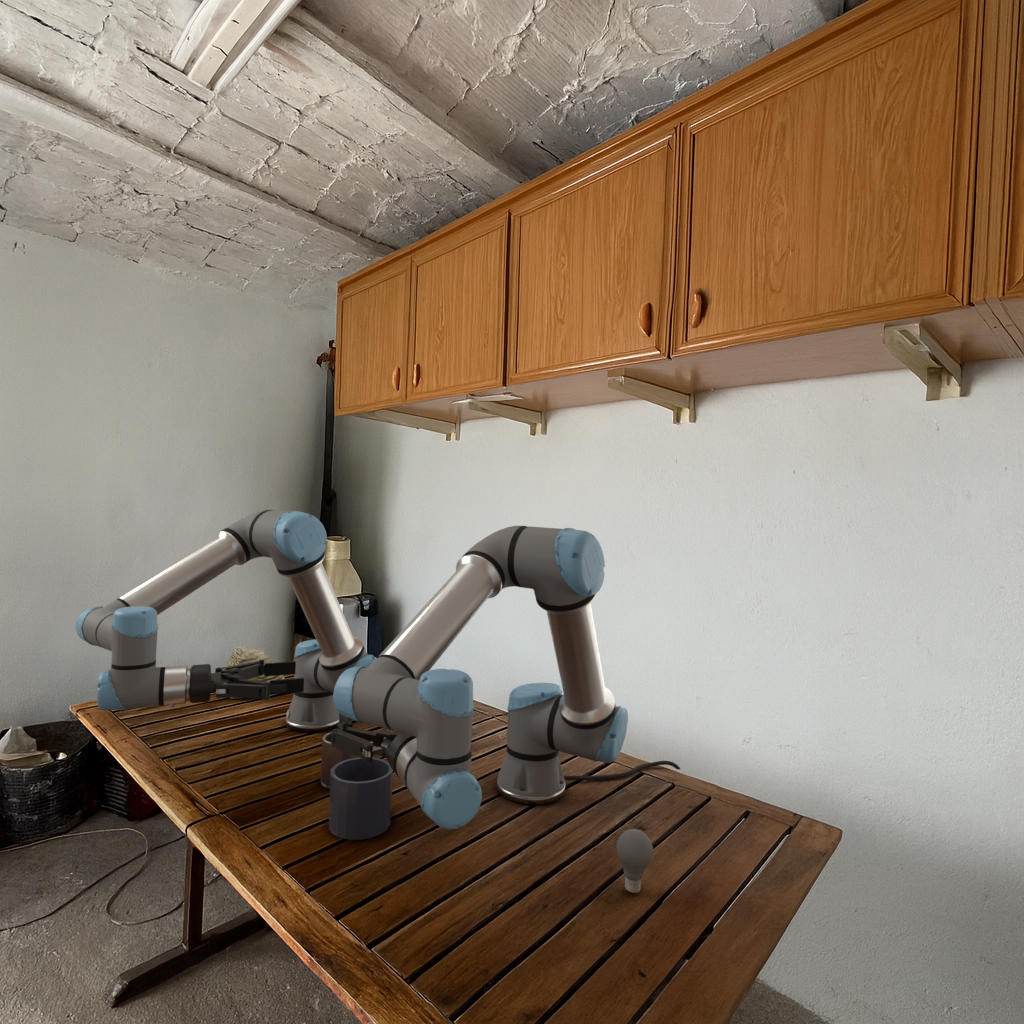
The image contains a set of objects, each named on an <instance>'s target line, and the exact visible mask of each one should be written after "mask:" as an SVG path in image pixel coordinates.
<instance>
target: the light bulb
mask: <svg viewBox="0 0 1024 1024" xmlns="http://www.w3.org/2000/svg"><path fill="white" fill-rule="evenodd" d="M615 849H616V854H617V857H618V859H619V861H620V863H621V865H622V867H623V873H624V874H623V875H624V876H625V878H624V888H625V890H627V891H628V892H630V893H634V894H635V893H639V892H640V891H641V889H642V887H641V886H642V879H643V877H644V875H645V871H646V868H647V867H648V866H649V864H650V863H651V861H652V859H653V855H654V847H653V843H652V841H651V838H649V836H648V835H647V834H646V833H645V832H643V831H642V830H641V829H636V828H629V829H627V830H625V831H623V832H622V833H621V834H620V835H619V837H618V839H617V841H616V847H615Z"/></svg>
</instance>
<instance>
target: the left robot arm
mask: <svg viewBox="0 0 1024 1024" xmlns="http://www.w3.org/2000/svg"><path fill="white" fill-rule="evenodd" d="M327 536H328V535H327V531H326V529H325V527H324V524H323V523H322V522H321V521H320V520H319V518H317V517H316V516H315V515H313V514H311V513H307V512H303V511H300V510H290V511H288V510H276V509H263V510H258V511H255V512H253V513H250V514H248V515H246V516H244V517H242V518H240V519H238V520H237V521H235V522H233V523H231V524H229V525H228V526H227V527H225V528H223V529H221V530H220V531H218V532H217V534H216V537H215V539H213V540H212V541H210V542H208V543H207V544H205V545H204V546H202V547H200V548H199V549H197V550H195V551H194V552H192V553H190V554H189V555H187V556H186V557H183V558H182V559H180V560H179V561H177V562H176V563H174V564H172V565H170V566H169V567H167V568H166V569H164V570H163V571H161V572H159V573H158V574H156V575H154V576H152V577H150V578H149V579H148V580H146V581H145V582H142V583H141V584H139V585H138V586H136V587H134V588H132V589H131V590H129V591H128V592H127V593H125V594H123V595H122V596H120V597H118V598H116V599H115V600H113V601H111V602H109V603H107V604H106V605H104V606H102V605H101V606H94V607H90V608H87V609H85V610H84V611H83V612H81V614H80V615H79V616H78V618H77V619H76V621H75V631H76V634H77V636H78V637H79V638H80V639H81V640H83V641H84V642H86V643H88V644H89V645H91V646H94V647H99V648H102V649H104V650H107V651H109V652H111V664H110V665H111V666H110V669H108V670H103V671H101V672H100V673H99V675H98V678H97V689H96V704H97V707H98V708H99V709H100V710H102V711H119V710H123V711H128V710H133V709H134V710H135V709H141V708H142V709H143V708H152V707H153V708H154V707H163V706H169V707H170V708H175V707H176V705H185V704H187V701H189V703H191V704H199V703H208V702H210V700H211V693H215V698H216V699H220V698H222V699H223V698H230V697H233V698H232V699H253V700H254V699H256V700H265V701H266V700H270V698H271V696H270V695H272V694H276V695H282V694H293V695H292V696H293V697H292V699H291V702H290V704H289V708H288V709H287V711H286V714H285V726H286V728H287V729H289V730H291V731H294V732H295V731H296V732H301V733H316V732H325V731H329V730H333V729H336V728H337V724H338V723H339V712H338V711H337V709H336V707H335V704H334V699H333V694H334V688H335V685H336V682H337V680H338V678H339V677H340V675H341V674H342V673H343V672H344V671H345V670H347V669H349V668H352V667H361V666H362V667H366V668H368V667H369V666H370V665H371V664H372V663H373V662H374V661H375V660H376V659H377V658H378V657H376V656H374V655H373V654H371V653H369V654H368V652H367V650H366V648H365V646H364V644H363V641H362V640H361V639H360V638H358V637H356V636H354V635H353V633H352V630H351V629H350V626H349V623H348V621H347V619H346V616H345V614H344V612H343V610H342V609H343V608H342V607H341V605H340V603H339V599H338V598H337V594H336V593H335V590H334V588H333V586H332V584H331V581H330V579H329V576H328V574H327V572H326V569H325V566H324V564H323V562H324V560H325V558H326V552H325V550H326V547H327V545H326V543H327V542H328V538H327ZM258 558H268V559H269V558H271V560H272V562H273V564H274V566H275V568H276V570H277V572H278V574H279V575H280V576H282V577H285V578H286V577H287V578H288V580H289V583H290V585H291V587H292V589H293V592H294V593H295V596H296V598H297V601H298V603H299V604H300V607H301V609H302V611H303V613H304V616H305V618H306V620H307V622H308V625H309V626H310V629H311V632H312V633H313V635H314V637H315V639H308V640H304V641H301V642H299V643H298V644H297V645H296V646H295V650H294V651H295V652H294V655H293V658H294V660H293V661H281V662H274V663H265V665H264V660H259V661H256V662H251V663H245V664H240V665H234V666H229V667H227V666H223V667H216V668H215V669H214V672H213V673H212V665H211V664H209V663H205V664H204V663H201V664H193V665H191V666H190V667H189V666H188V665H186V664H185V665H171V666H157V645H158V630H159V623H158V616H159V615H160V614H161V613H163V612H165V611H166V610H169V608H171V607H172V606H175V604H177V603H178V602H180V601H181V600H183V599H184V598H186V597H188V596H190V595H192V593H194V592H195V591H197V590H199V589H200V588H202V587H203V586H205V585H207V584H208V583H209V582H211V581H212V580H214V579H216V578H217V577H218V576H220V575H222V574H223V573H225V572H227V570H229V569H231V568H233V567H234V566H243V565H244V564H246V563H248V562H249V561H252V560H254V559H258ZM261 675H264V676H277V675H283V676H288V675H293V678H285V679H281V680H270V682H263V681H255V680H248V679H251V678H254V677H257V676H261ZM272 696H273V695H272Z"/></svg>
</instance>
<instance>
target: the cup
mask: <svg viewBox="0 0 1024 1024" xmlns="http://www.w3.org/2000/svg"><path fill="white" fill-rule="evenodd" d="M331 741H332V731H330V732H327V733H325V734H324V735H323V736H322V738H321V754H320V755H321V756H320V757H321V759H320V786H322V787H323V788H324V789H326V790H327V789H328V790H330V777H331V769H332V768H333V766H334V765H336V764H338V763H339V762H342V761H345V760H348V759H353V758H360V757H358V756H355V755H353V754H350V753H348V752H345V751H343V750H340V749H338V748H335V747H333V746H331Z"/></svg>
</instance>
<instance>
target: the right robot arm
mask: <svg viewBox="0 0 1024 1024" xmlns="http://www.w3.org/2000/svg"><path fill="white" fill-rule="evenodd" d="M605 564H606V563H605V556H604V551H603V548H602V546H601V543H600V542H599V540H598V539H597V537H596V536H595V535H594V534H592V533H591V532H589V531H586V530H583V529H581V530H580V529H576V528H572V527H564V528H555V527H543V526H527V525H512V526H507V527H504V528H501V529H499V530H497V531H494V532H492V533H491V534H489V535H487V536H486V537H484V538H482V539H481V540H479V541H478V542H477V543H475V544H474V545H473V546H471V547H470V548H469V549H468V550H467V551H466V552H465V553H464V554H463V555H462V556H461V557H460V558H459V559H458V561H457V562H456V565H455V572H454V573H453V574H452V575H451V576H450V578H448V579H447V581H446V582H445V583H444V584H443V585H442V586H441V587H440V588H439V589H438V590H437V591H436V593H435V594H434V595H433V596H432V597H431V598H430V599H429V600H428V602H427V603H426V604H424V606H423V607H422V608H421V609H420V610H419V611H418V612H417V613H416V614H415V616H414V617H413V618H412V619H411V620H410V621H409V622H408V623H407V624H406V626H404V627H403V629H401V631H400V632H399V633H398V634H397V635H396V636H395V637H394V639H393V640H392V641H391V642H390V643H389V644H388V645H387V646H386V647H385V648H384V650H383V651H382V652H381V653H380V654H379V655H378V657H376V658H377V659H376V660H375V661H374V662H373V663H372V664H371V665H370V666H369V667H368V668H366V667H362V666H361V667H352V668H349V669H347V670H345V671H344V672H343V673H342V674H341V675H340V677H339V678H338V680H337V682H336V685H335V688H334V694H333V699H334V704H335V707H336V709H337V711H338V712H339V723H338V724H337V727H336V728H333V729H331V732H332V741H331V746H333V747H335V748H338V749H340V750H343V751H345V752H348V753H350V754H353V755H355V756H358V757H360V758H362V759H363V760H364V761H365V762H372V758H374V757H376V756H381V757H382V758H385V759H386V760H387V762H389V764H390V766H391V768H392V769H393V773H394V774H396V776H397V777H398V779H399V780H400V781H401V782H402V784H403V785H404V786H405V788H406V789H407V790H408V791H409V793H410V794H411V795H412V796H413V798H414V799H415V800H416V802H417V804H419V806H420V808H421V810H422V812H423V814H424V815H425V816H426V817H428V818H429V819H430V820H431V821H432V822H433V823H434V824H435V825H436V826H438V827H440V828H442V829H444V830H445V829H446V830H457V829H459V828H462V827H464V826H466V825H467V824H468V823H470V822H471V821H472V820H473V819H474V818H475V816H476V815H477V814H478V811H479V809H480V807H481V804H482V801H483V793H482V788H481V784H479V782H478V780H477V778H476V776H475V774H473V773H472V757H473V755H472V737H473V736H472V735H473V721H474V710H475V702H474V681H473V678H472V677H471V676H470V675H469V674H468V673H467V672H465V671H463V670H460V669H455V668H451V669H450V668H449V669H448V668H434V669H432V668H433V666H435V664H436V663H437V661H438V660H439V659H440V658H441V657H442V656H443V654H444V653H445V652H446V651H447V649H448V648H449V647H450V646H451V644H452V643H453V642H454V641H455V640H456V638H457V637H458V636H459V634H460V633H461V632H462V631H463V629H464V628H465V627H466V626H467V625H468V624H469V622H470V621H471V620H472V618H473V617H474V616H475V615H476V614H477V612H478V611H479V610H480V608H481V607H482V606H483V605H484V603H485V602H486V601H487V600H488V599H493V598H495V597H497V596H498V595H499V594H500V593H501V591H502V590H503V589H505V588H511V587H518V588H523V589H531V590H533V592H534V597H535V601H536V604H537V605H538V607H540V609H542V610H543V611H546V616H547V621H548V625H549V626H548V627H549V631H550V634H551V639H552V644H553V649H554V654H555V659H556V664H557V669H558V673H559V678H560V683H561V685H559V684H556V683H553V682H532V683H525V684H521V685H518V686H516V687H515V688H513V689H512V690H511V691H510V693H509V697H508V704H507V730H506V732H507V733H506V752H505V756H504V759H503V761H502V764H501V766H500V770H499V773H498V775H497V779H496V790H497V792H498V794H500V796H502V797H503V798H505V799H507V800H509V801H511V802H515V803H518V804H522V805H530V806H531V805H532V806H538V805H546V804H547V805H548V804H551V803H554V802H558V800H561V798H563V797H564V795H565V793H566V781H597V780H598V781H599V780H600V781H601V780H603V781H604V780H614V779H620V778H624V777H628V776H631V775H633V774H635V773H636V772H638V771H640V770H642V769H646V768H647V769H648V768H652V767H658V766H665V765H666V766H671V767H673V768H674V769H675V770H681V767H680V766H679V765H678V764H677V763H675V762H673V761H670V760H658V761H657V760H656V761H653V762H648V763H642V764H639V765H637V766H634V767H633V768H631V769H630V770H627V771H624V772H619V773H612V774H600V775H564V772H563V769H562V766H561V761H560V758H559V752H561V753H565V754H568V755H571V756H575V757H578V758H583V759H586V760H590V761H594V762H596V763H597V762H599V763H605V764H610V763H613V762H615V761H616V760H617V759H618V757H619V756H620V754H621V751H622V749H623V746H624V743H625V739H626V736H627V730H628V723H629V712H628V710H627V709H626V708H625V707H623V706H622V705H619V706H618V705H616V700H615V696H614V694H613V692H612V691H611V690H610V689H609V688H607V687H606V685H605V679H604V674H603V668H602V661H601V655H600V650H599V649H600V648H599V644H598V637H597V632H596V627H595V621H594V614H593V609H592V602H593V601H594V600H595V599H596V597H597V593H599V592H600V590H601V588H602V587H603V584H604V580H605V570H604V568H605V567H606V565H605ZM351 720H352V721H355V722H357V723H359V724H367V725H371V726H375V727H377V728H378V727H379V728H383V729H387V730H390V731H387V730H380V731H372V730H367V729H363V728H357V727H354V726H353V725H354V724H353V723H352V721H351ZM392 731H393V732H392Z"/></svg>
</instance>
